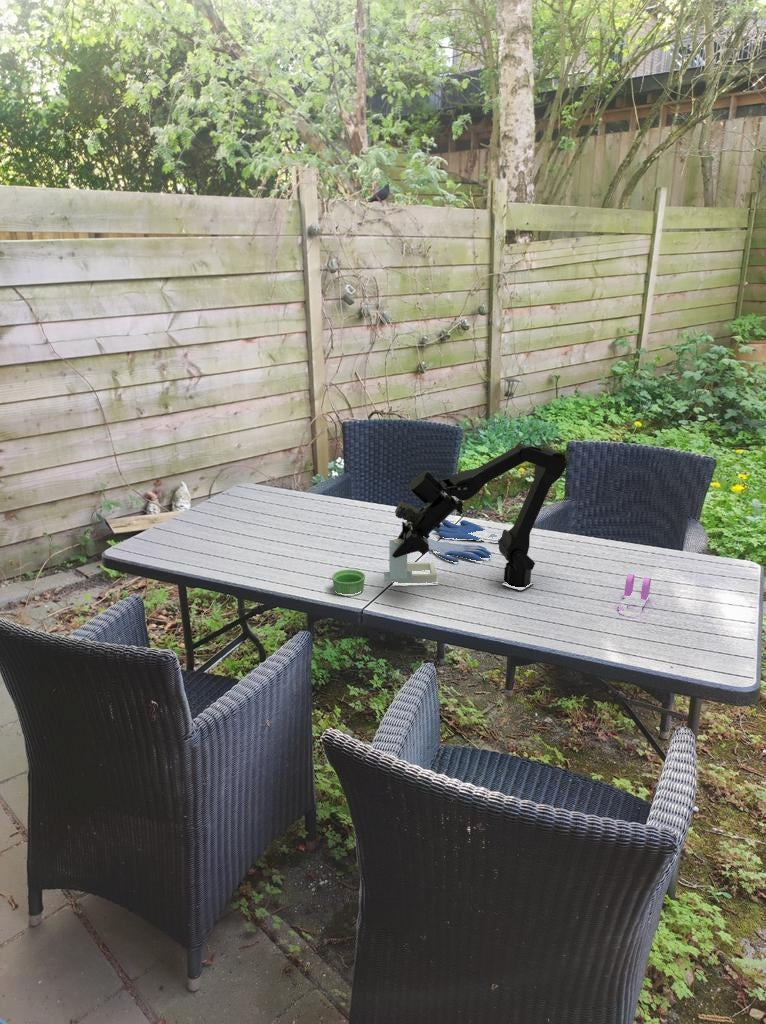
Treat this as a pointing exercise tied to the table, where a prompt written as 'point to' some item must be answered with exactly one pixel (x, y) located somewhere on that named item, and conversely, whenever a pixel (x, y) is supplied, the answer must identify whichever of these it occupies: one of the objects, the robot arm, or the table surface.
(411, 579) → the block
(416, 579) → the pocket tray
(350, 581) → the ramekin
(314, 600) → the table surface
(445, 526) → the pair of gloves
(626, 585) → the bracket
